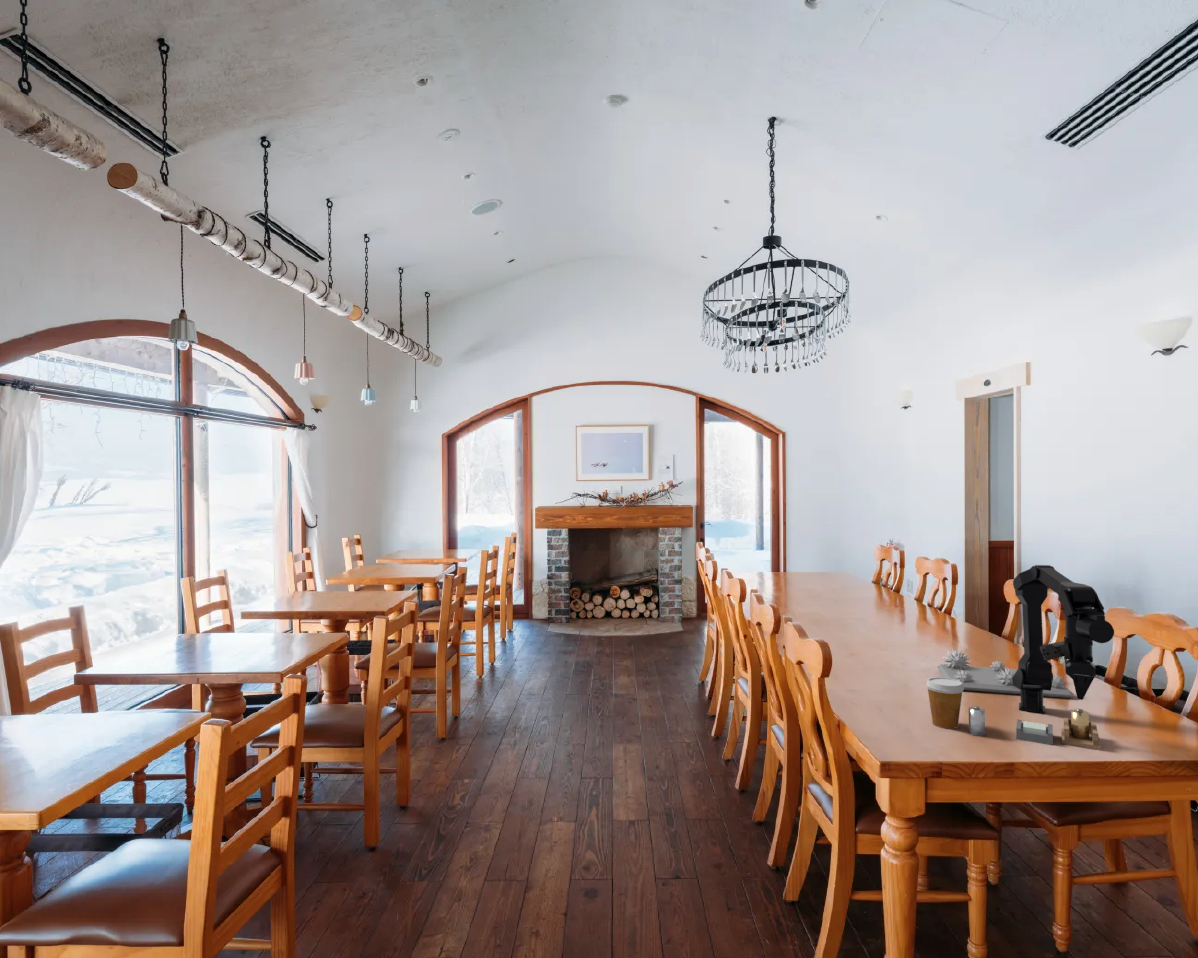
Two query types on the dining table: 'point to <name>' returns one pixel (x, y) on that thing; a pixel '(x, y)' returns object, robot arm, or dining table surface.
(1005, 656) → the dining table surface
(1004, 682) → the decorative tray
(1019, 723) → the base
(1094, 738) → the wooden open box
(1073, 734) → the cell bronze
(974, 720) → the cell steel
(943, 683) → the disposable coffee cup
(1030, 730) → the checker pad
